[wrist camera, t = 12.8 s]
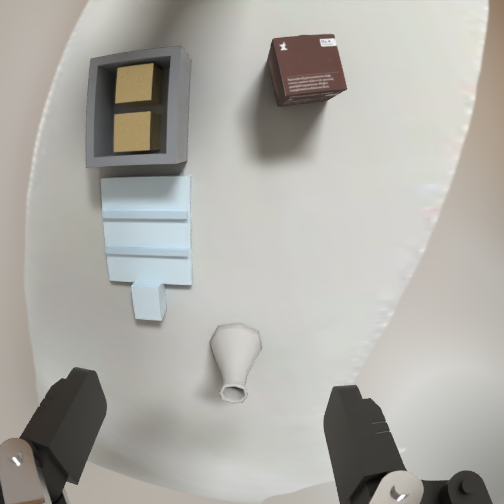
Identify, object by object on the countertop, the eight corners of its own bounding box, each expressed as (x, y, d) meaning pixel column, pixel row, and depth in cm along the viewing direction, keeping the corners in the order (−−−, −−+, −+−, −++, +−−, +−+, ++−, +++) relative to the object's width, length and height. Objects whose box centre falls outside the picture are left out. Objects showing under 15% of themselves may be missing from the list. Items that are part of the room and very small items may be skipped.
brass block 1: (130, 74, 29) (117, 67, 25) (163, 71, 29) (153, 63, 25) (128, 107, 30) (115, 103, 27) (161, 104, 30) (151, 99, 27)
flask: (207, 359, 42) (199, 410, 33) (212, 318, 40) (203, 367, 31) (257, 366, 43) (259, 417, 33) (266, 325, 41) (271, 375, 31)
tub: (111, 68, 29) (90, 58, 24) (191, 60, 29) (181, 46, 24) (107, 163, 33) (85, 167, 28) (187, 160, 33) (176, 163, 28)
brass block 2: (128, 117, 31) (114, 114, 27) (161, 114, 31) (150, 111, 27) (127, 150, 32) (113, 152, 28) (160, 149, 32) (149, 150, 28)
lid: (104, 177, 34) (93, 180, 31) (191, 175, 34) (186, 177, 31) (117, 305, 39) (109, 316, 37) (194, 310, 40) (190, 322, 37)
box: (276, 107, 31) (283, 97, 25) (266, 58, 30) (270, 37, 23) (328, 100, 31) (348, 90, 24) (318, 53, 29) (335, 32, 22)
